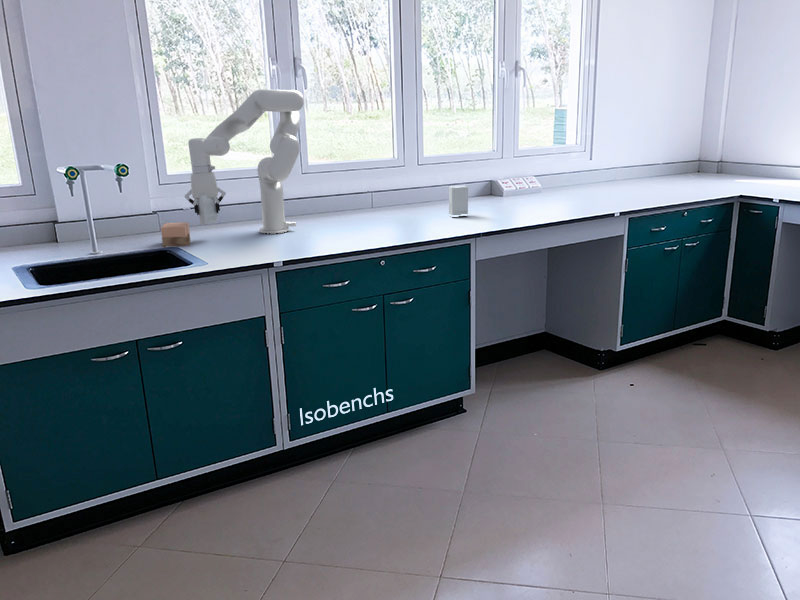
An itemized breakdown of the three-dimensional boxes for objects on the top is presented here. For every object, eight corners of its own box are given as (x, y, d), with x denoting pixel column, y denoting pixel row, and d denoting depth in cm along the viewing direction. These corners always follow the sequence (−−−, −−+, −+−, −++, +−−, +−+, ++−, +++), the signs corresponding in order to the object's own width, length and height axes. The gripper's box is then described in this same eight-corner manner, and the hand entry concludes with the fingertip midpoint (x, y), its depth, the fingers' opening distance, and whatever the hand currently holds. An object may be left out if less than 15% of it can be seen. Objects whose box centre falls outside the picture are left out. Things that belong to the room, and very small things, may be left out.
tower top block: (189, 232, 266) (188, 222, 264) (185, 236, 257) (184, 226, 256) (166, 232, 264) (165, 223, 263) (162, 237, 256) (160, 227, 255)
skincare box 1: (212, 220, 272) (208, 192, 269) (218, 221, 270) (214, 192, 266) (199, 223, 268) (195, 194, 264) (205, 224, 265) (201, 195, 262)
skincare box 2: (464, 215, 321) (465, 184, 316) (468, 217, 315) (469, 186, 311) (447, 216, 319) (448, 185, 314) (451, 218, 313) (452, 187, 309)
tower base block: (190, 241, 268) (189, 231, 267) (189, 246, 259) (188, 236, 257) (164, 242, 265) (163, 233, 264) (163, 248, 256) (161, 238, 255)
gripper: (223, 167, 268) (229, 210, 273) (179, 170, 263) (186, 214, 269) (224, 169, 261) (229, 213, 266) (178, 172, 256) (185, 217, 262)
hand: (207, 213), depth 268 cm, fingers closed on skincare box 1, 7 cm apart
